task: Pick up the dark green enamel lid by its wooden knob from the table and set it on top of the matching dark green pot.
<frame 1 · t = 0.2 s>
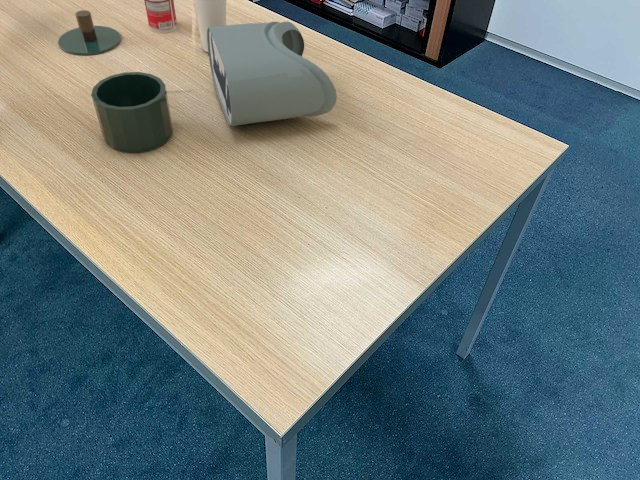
pill bottle: (163, 30, 123), on the table
lid: (90, 41, 116), point 1 cm above the table
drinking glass: (214, 49, 118), on the table
pot: (138, 132, 95), on the table
gray curved housing: (270, 102, 105), on the table
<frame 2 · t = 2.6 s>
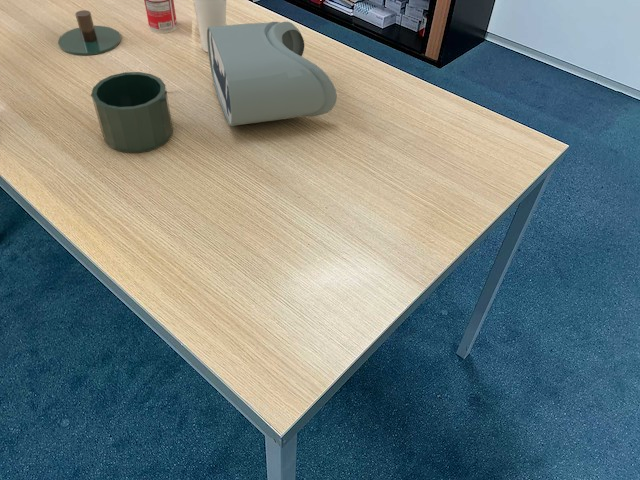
nothing on the table moved.
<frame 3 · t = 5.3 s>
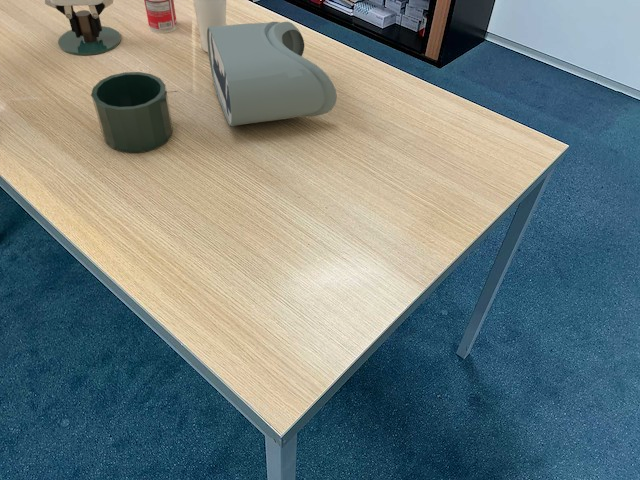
hand: (88, 33, 115), 2 cm above the table, tool pointing down, fingers closed on lid, 3 cm apart
lid: (90, 41, 116), point 1 cm above the table, touching gripper
everything else where it was.
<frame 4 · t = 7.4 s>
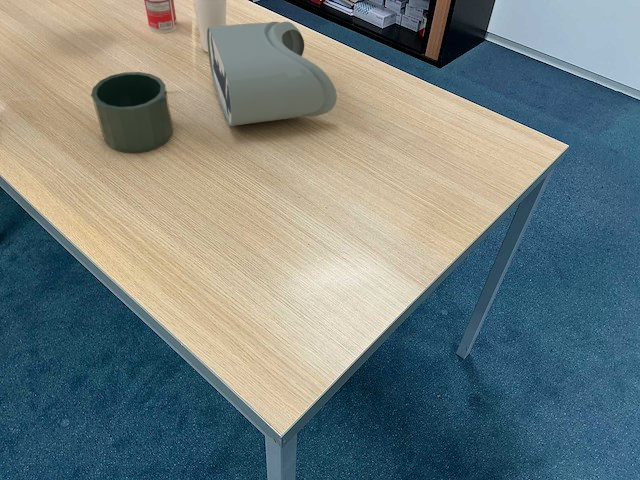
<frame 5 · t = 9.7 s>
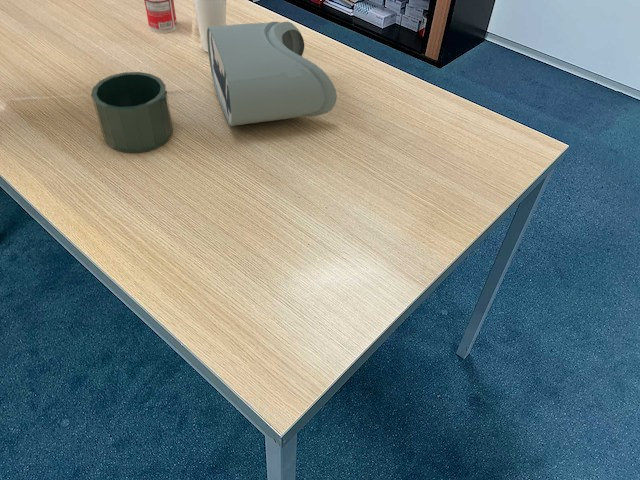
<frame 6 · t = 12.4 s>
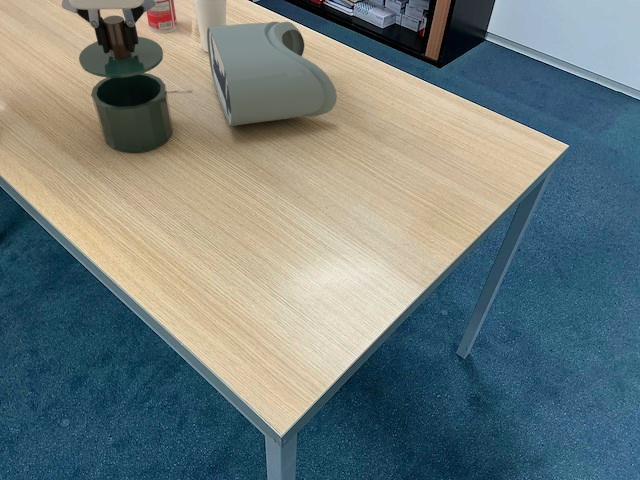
hand: (120, 47, 84), 16 cm above the table, tool pointing down, fingers closed on lid, 3 cm apart
lid: (122, 57, 85), point 14 cm above the table, touching gripper
everything else where it was.
when the fingers open (10 cm above the table, at t = 14.0 s): lid stays where it is, resting on pot.
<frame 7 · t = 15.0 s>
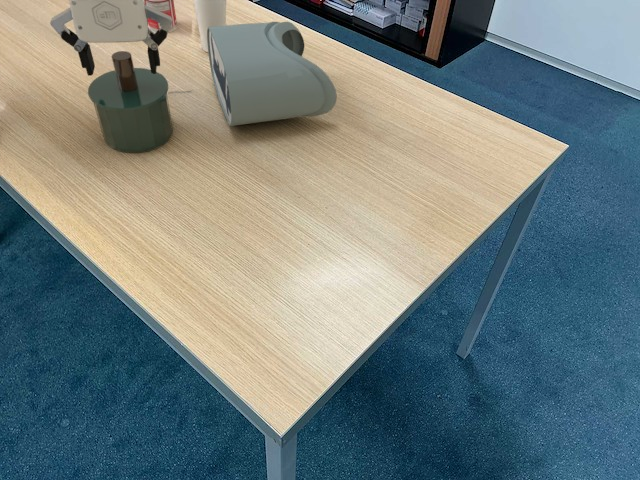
hand: (123, 70, 87), 12 cm above the table, tool pointing down, fingers open, 9 cm apart
lid: (129, 89, 89), point 8 cm above the table, touching pot
everything else where it was.
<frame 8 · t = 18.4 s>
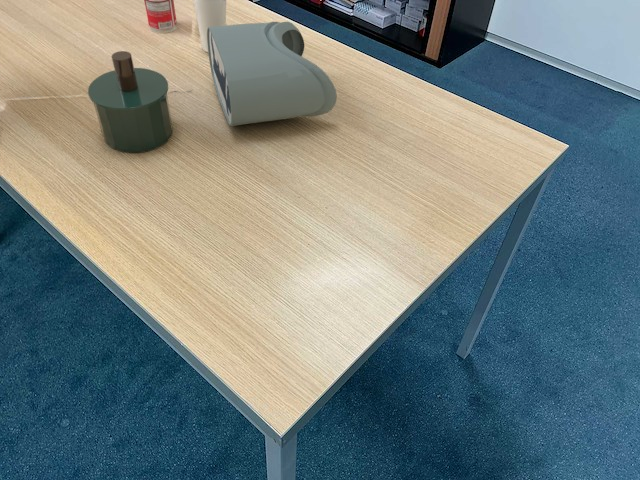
nothing on the table moved.
at the end: lid 0.0 cm off-centre on the pot, point 8.5 cm above the pot's base; lid tilted 0°; the gripper is holding nothing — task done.
